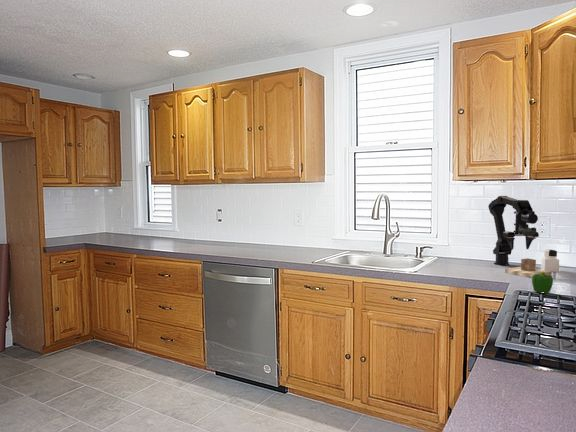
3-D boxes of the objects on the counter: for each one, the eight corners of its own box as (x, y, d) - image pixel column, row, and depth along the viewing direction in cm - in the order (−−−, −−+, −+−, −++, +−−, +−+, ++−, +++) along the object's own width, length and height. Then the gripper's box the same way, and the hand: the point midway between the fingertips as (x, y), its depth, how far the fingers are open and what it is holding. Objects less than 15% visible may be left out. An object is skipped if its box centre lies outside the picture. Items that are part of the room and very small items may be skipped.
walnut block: (520, 269, 239) (521, 258, 239) (527, 269, 241) (527, 258, 240) (528, 271, 234) (529, 260, 234) (535, 270, 236) (535, 259, 236)
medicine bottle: (554, 269, 249) (555, 249, 248) (558, 272, 242) (560, 251, 241) (540, 269, 251) (541, 248, 250) (544, 271, 244) (545, 250, 243)
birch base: (505, 272, 241) (505, 268, 241) (524, 269, 248) (524, 266, 248) (532, 278, 227) (532, 274, 227) (551, 275, 234) (551, 271, 234)
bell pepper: (534, 289, 204) (535, 268, 203) (554, 292, 198) (555, 270, 197) (528, 292, 198) (529, 270, 197) (549, 295, 192) (550, 273, 191)
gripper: (514, 223, 237) (513, 251, 238) (546, 223, 239) (544, 251, 240) (502, 221, 248) (501, 248, 249) (532, 221, 250) (531, 248, 251)
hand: (519, 249), depth 247 cm, fingers open, 9 cm apart
